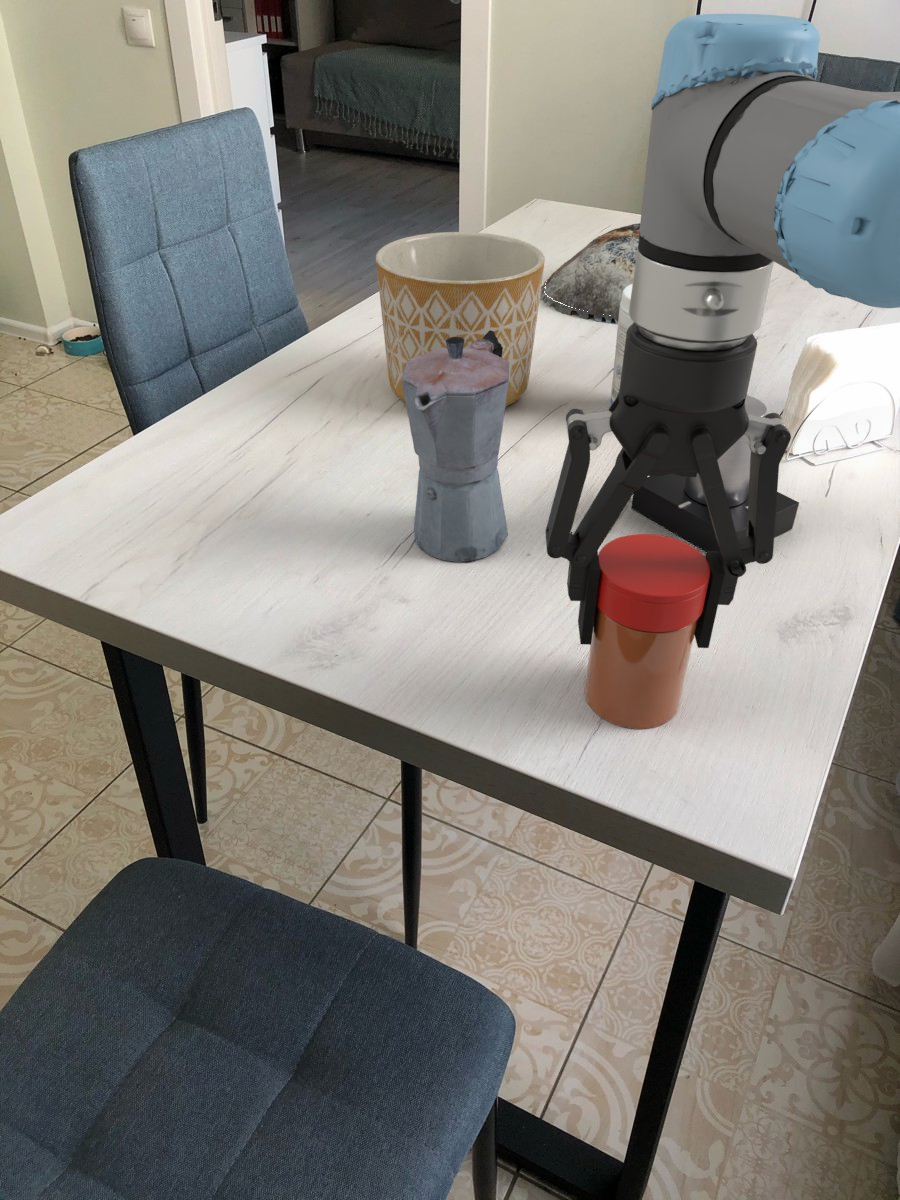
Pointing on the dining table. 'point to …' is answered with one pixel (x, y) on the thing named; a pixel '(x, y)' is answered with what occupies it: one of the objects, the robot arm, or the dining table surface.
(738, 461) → the dial
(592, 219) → the dining table surface
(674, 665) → the jar
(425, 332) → the planter
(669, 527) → the panel
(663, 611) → the lid
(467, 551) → the moka pot
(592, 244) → the bread
